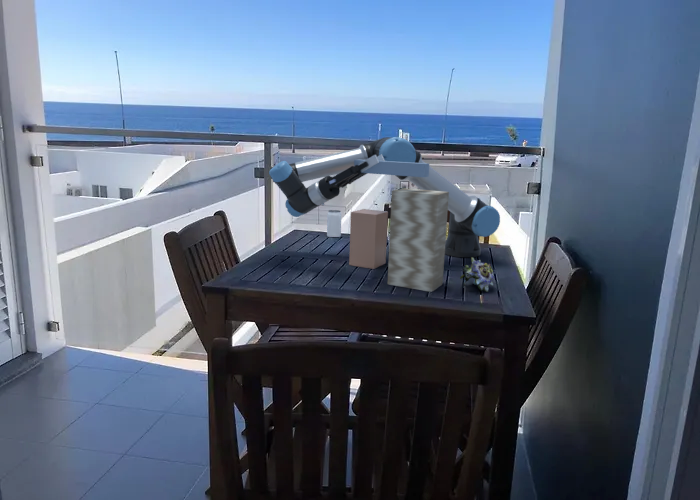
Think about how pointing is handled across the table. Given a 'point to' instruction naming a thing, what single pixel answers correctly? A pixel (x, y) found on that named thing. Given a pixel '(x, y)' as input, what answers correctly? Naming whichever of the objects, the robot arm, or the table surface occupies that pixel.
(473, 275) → the passion flower
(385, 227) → the block
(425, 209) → the stand
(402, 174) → the bar
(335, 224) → the can
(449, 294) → the table surface
